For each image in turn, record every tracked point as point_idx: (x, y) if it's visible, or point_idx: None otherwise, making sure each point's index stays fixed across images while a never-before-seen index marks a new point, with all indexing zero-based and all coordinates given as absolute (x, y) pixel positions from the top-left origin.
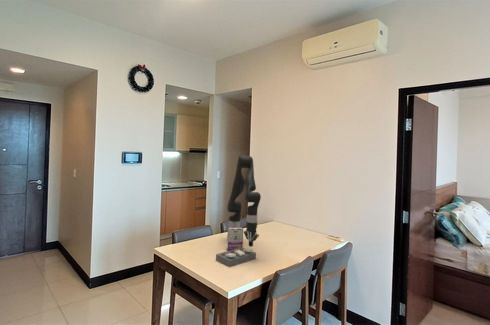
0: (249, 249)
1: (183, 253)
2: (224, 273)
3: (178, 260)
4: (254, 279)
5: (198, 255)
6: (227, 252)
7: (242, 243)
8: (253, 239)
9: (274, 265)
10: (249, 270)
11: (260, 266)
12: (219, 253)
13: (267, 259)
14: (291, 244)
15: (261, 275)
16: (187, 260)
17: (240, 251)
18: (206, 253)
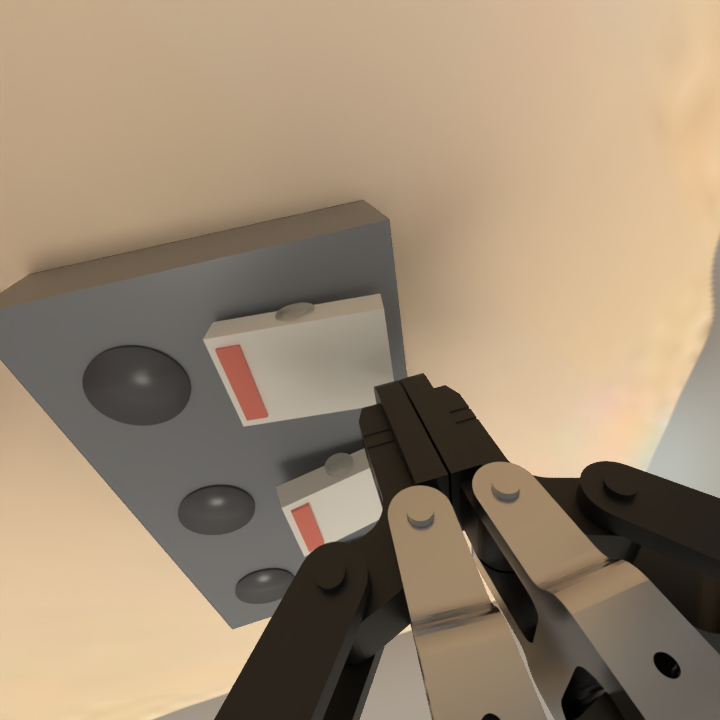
0: (346, 364)
1: (3, 715)
2: (471, 551)
3: (162, 709)
4: (653, 440)
5: (74, 652)
6: (211, 556)
7: None
8: (663, 582)
9: (686, 101)
10: (550, 418)
11: (570, 293)
12: (217, 610)
13: (493, 13)
14: None
15: (666, 378)
16: (176, 683)
17: (348, 496)
18: (17, 615)
